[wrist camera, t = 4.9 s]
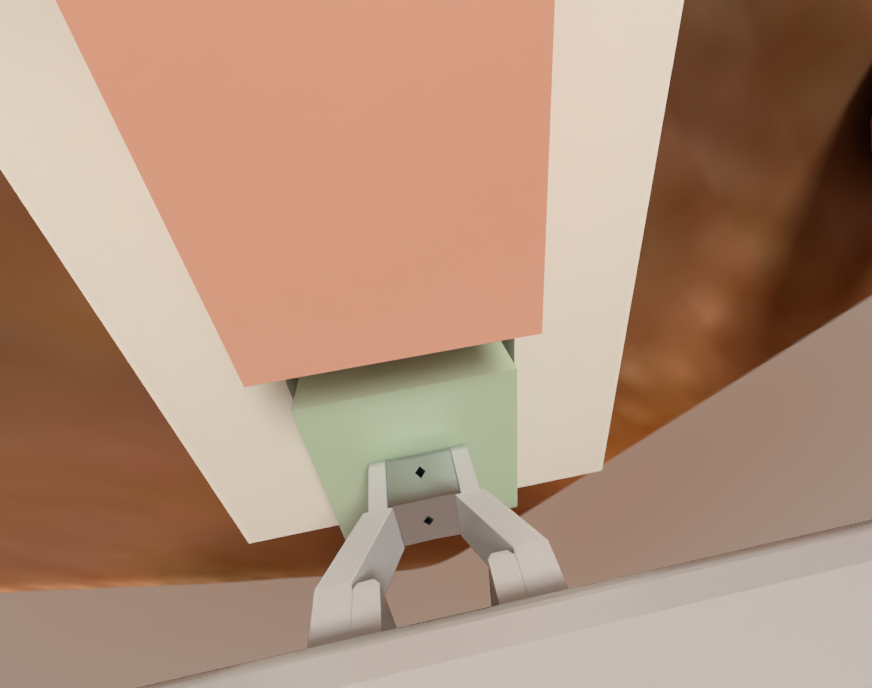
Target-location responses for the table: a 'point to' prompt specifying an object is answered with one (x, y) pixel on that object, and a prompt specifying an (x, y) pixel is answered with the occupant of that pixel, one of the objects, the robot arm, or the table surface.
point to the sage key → (410, 420)
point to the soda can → (871, 134)
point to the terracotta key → (339, 166)
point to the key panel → (271, 402)
